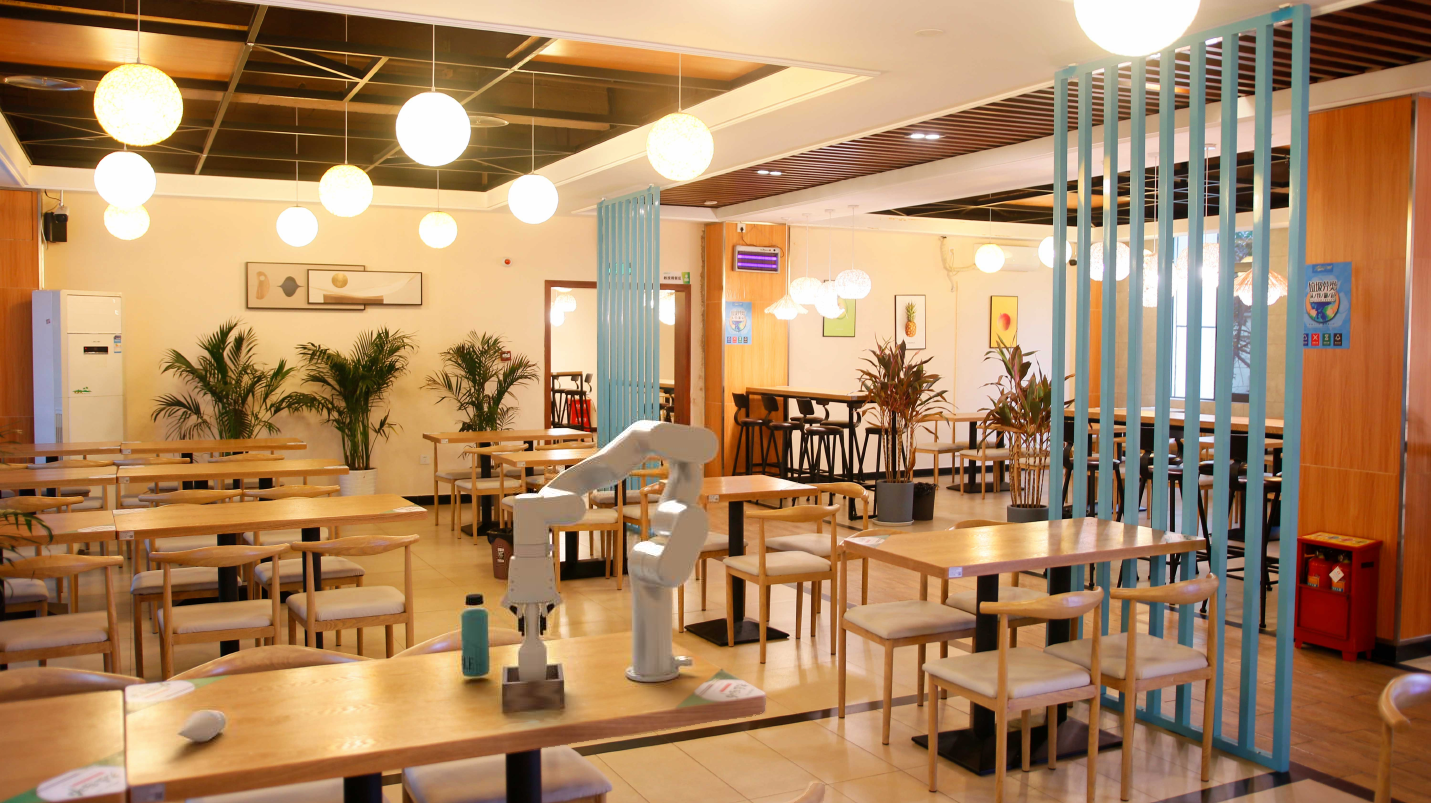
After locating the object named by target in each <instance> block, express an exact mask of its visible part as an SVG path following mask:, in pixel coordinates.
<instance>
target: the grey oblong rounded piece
mask: <svg viewBox="0 0 1431 803" xmlns="http://www.w3.org/2000/svg"><path fill="white" fill-rule="evenodd" d="M226 724H227V717H226V715H225V714H224V713H223V712H222V711H219V710H217V709H216V710H215V709H214V710H213V709H212V710H211V709H200V710H197V711H195V712H193V713H192V714H191V715H190V716H189V718H188V719H187V720H186V721H185V723H184V724H183V725H182V727H181V728H180V729H179V731H178V732H177V735H179V736H182V737H184V738H186V739H189V740H191V741H194V742H196V741H197V743H205V742H204V741H206V742H208V741H209V740H211V739H212V738H214V737H215V736H217V735H218V734H219V733H220V732H222V731H223V729H224V728H225V727H226Z"/></svg>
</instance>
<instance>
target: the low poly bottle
mask: <svg viewBox="0 0 1431 803" xmlns="http://www.w3.org/2000/svg"><path fill="white" fill-rule="evenodd" d="M539 604H540V603H532V604H525V606H524V609H523V613H524V616H525V639H523V642H521V645H520V646H519V648H518V649H517V650H518V651H517V657H518V658H517V659H518V660H517V662H518V664H517V666H518V672H519V679H520V682H522V681H538V680H545V679H546V669H547V664H548V662H547V661H548V657H547V656H548V651H547V648H548V647H547V645H546V643H544V641H543V640H542V639H541V638H540V613H541V607H540V605H539Z"/></svg>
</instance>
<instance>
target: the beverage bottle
mask: <svg viewBox="0 0 1431 803" xmlns="http://www.w3.org/2000/svg"><path fill="white" fill-rule="evenodd" d="M465 605H466V606H470V607H468V608H466V609H465V610H464V611H462V613H461V614H460V617H461V633H460V635H461V636H460V637H461V640H460V641H461V656H460V657H461V672H462V675H463V676H464V677H469V678H477V677H483V676H486V675H488V674H490V661H491V660H490V659H491V658H490V651H491V650H490V642H489V612H488V611H487V610H486V609H485V608H483V607H479V606H482V605H484V595H483V594H481V593H471V594H467V595H466V596H465ZM474 606H475V607H474ZM476 606H477V607H476Z"/></svg>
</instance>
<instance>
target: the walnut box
mask: <svg viewBox="0 0 1431 803" xmlns="http://www.w3.org/2000/svg"><path fill="white" fill-rule="evenodd" d="M501 703H502V704H501V710H502V712H501V713H513V712H526V711H527V712H529V711H541V710H555V709H556V710H557V709H559V710H560V709H565V676H564V670H563V663H562V662H561V663H547V669H546V679H545V680H538V681H522V682H520V679H519V672H518V665H512V666H502V676H501Z"/></svg>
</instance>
